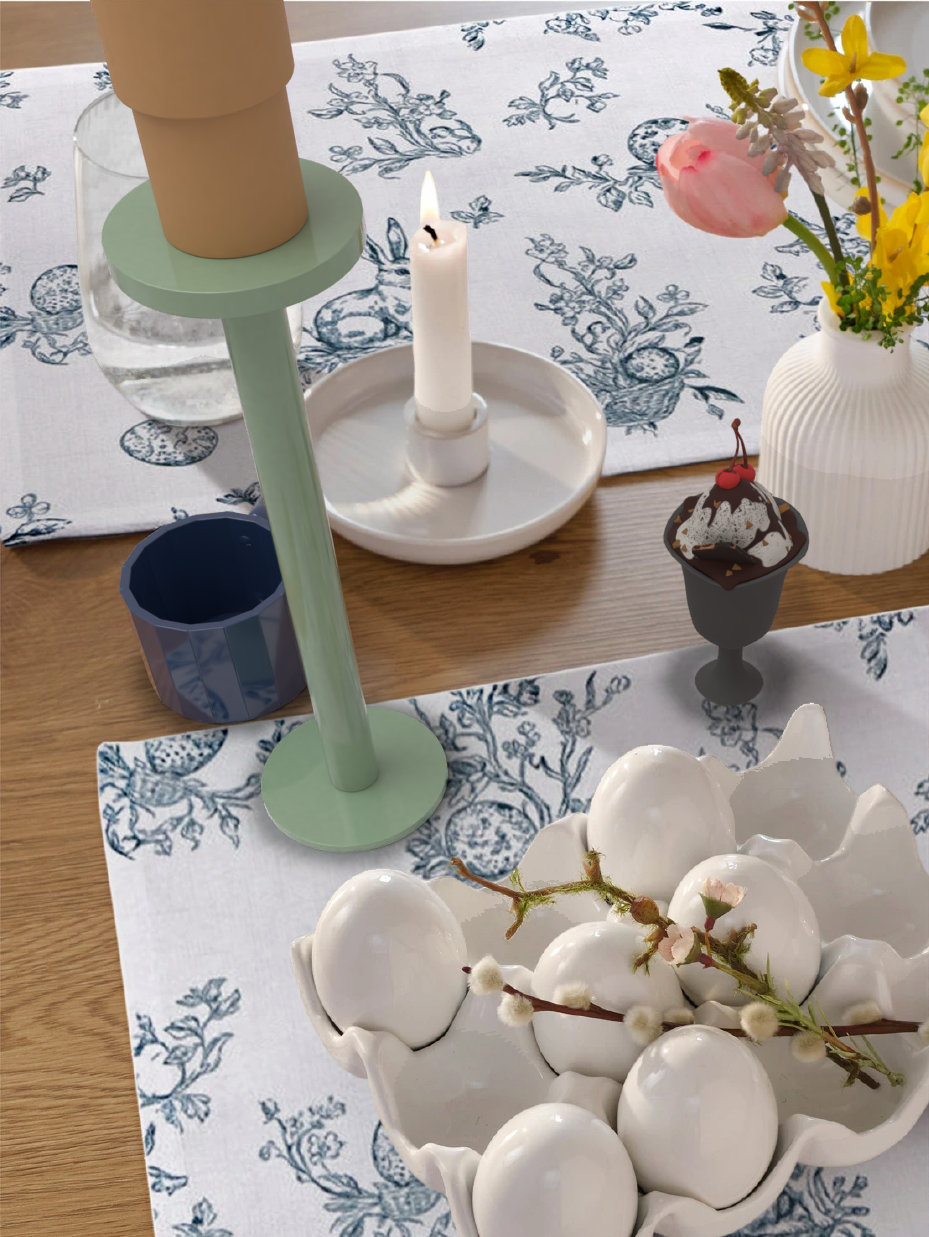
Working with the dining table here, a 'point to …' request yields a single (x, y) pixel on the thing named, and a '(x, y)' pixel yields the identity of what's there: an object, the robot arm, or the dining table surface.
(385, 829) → the green pedestal stand
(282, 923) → the dining table surface
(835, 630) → the dining table surface
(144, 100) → the paper cup
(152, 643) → the mug
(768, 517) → the sundae
